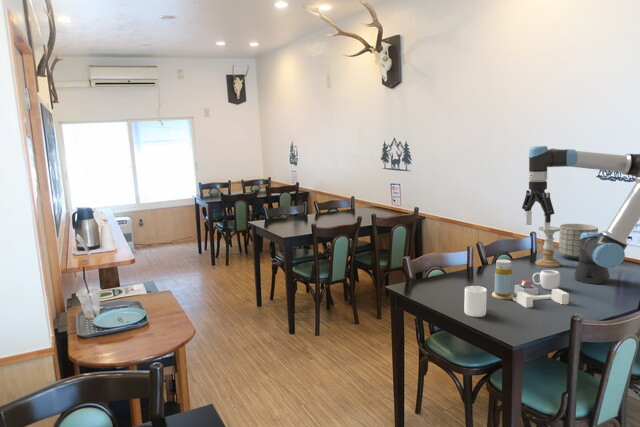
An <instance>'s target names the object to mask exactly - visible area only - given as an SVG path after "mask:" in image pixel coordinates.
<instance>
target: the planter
mask: <svg viewBox="0 0 640 427" xmlns="http://www.w3.org/2000/svg"><path fill="white" fill-rule="evenodd" d="M559 228H560V231H559V235H558V236H559V238H558V239H559V240H558V253H559V254H561V255H563V256H565V257H566V258H569V259H571V260H575V261H579V248H580V235H581V234H582V233H586V232H595V233H599V227H598V226H596V225H593V224H587V223H562V224H560V225H559Z"/></svg>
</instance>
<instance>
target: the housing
mask: <svg viewBox="0 0 640 427" xmlns="http://www.w3.org/2000/svg"><path fill="white" fill-rule="evenodd" d="M513 294H516V296H514V297H513V298H512V301H514V302H516V303H517V304H519V305H521V306H522V307H524V308H528V309H529V308H534V301H539V300H550V299H551V301H554V302H556V303H558V304H559V303H560V305H561V304H564V305H569V298H570V293H568V292H567V291H564V290H562V289H560V288H557V289H552V290H551V294H540V295H539V288H538V287H535V285H533V284H531V288H528V289H524V288H522V287H521V284H514V292H513Z"/></svg>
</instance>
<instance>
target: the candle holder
mask: <svg viewBox="0 0 640 427" xmlns="http://www.w3.org/2000/svg"><path fill="white" fill-rule="evenodd" d="M543 228H544V226H540V227H538V231H541V232H543V233H544V234H545V236H544V237H543V240H544V243H543V247H542V248H543V250H542V252H541V254H543V258H539V259H538V260H536V261H535V263H534V264H535V265H536V266H538V267H543V268H559V267H561V262H560V261H558V260H557V259H555V258H554V254H555V251H554V250H555V245H554V240H555V238H554V237H553V236H554V234H555V233H556V232H557V233H558V232H560V227H557V226H550V230H543Z"/></svg>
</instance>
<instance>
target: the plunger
mask: <svg viewBox="0 0 640 427" xmlns="http://www.w3.org/2000/svg"><path fill="white" fill-rule="evenodd" d="M520 285H521V287H522V288H524V289H528V288H531V285H532V281H531V280H528V279H521V284H520Z"/></svg>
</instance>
